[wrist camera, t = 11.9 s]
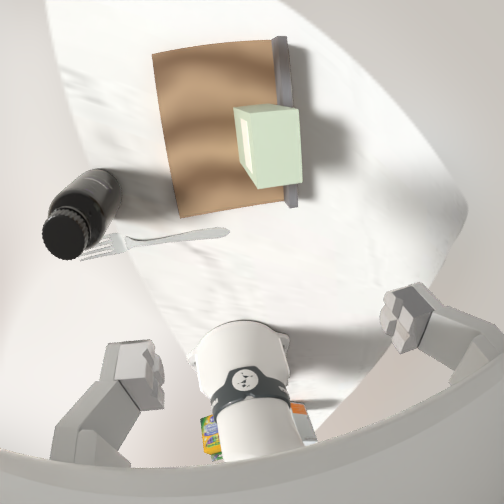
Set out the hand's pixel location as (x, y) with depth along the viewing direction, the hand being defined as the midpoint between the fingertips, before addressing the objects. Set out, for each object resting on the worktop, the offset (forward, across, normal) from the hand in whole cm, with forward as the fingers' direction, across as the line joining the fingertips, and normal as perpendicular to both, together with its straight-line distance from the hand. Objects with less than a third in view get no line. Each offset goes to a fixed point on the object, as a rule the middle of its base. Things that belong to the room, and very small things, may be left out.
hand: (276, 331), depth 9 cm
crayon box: (+30, +10, +59) cm, 67 cm away
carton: (+27, -5, -3) cm, 27 cm away
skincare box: (+30, -10, +61) cm, 69 cm away
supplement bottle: (+28, +15, +2) cm, 32 cm away
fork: (+29, +8, +10) cm, 32 cm away
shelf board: (+28, -2, -4) cm, 29 cm away
